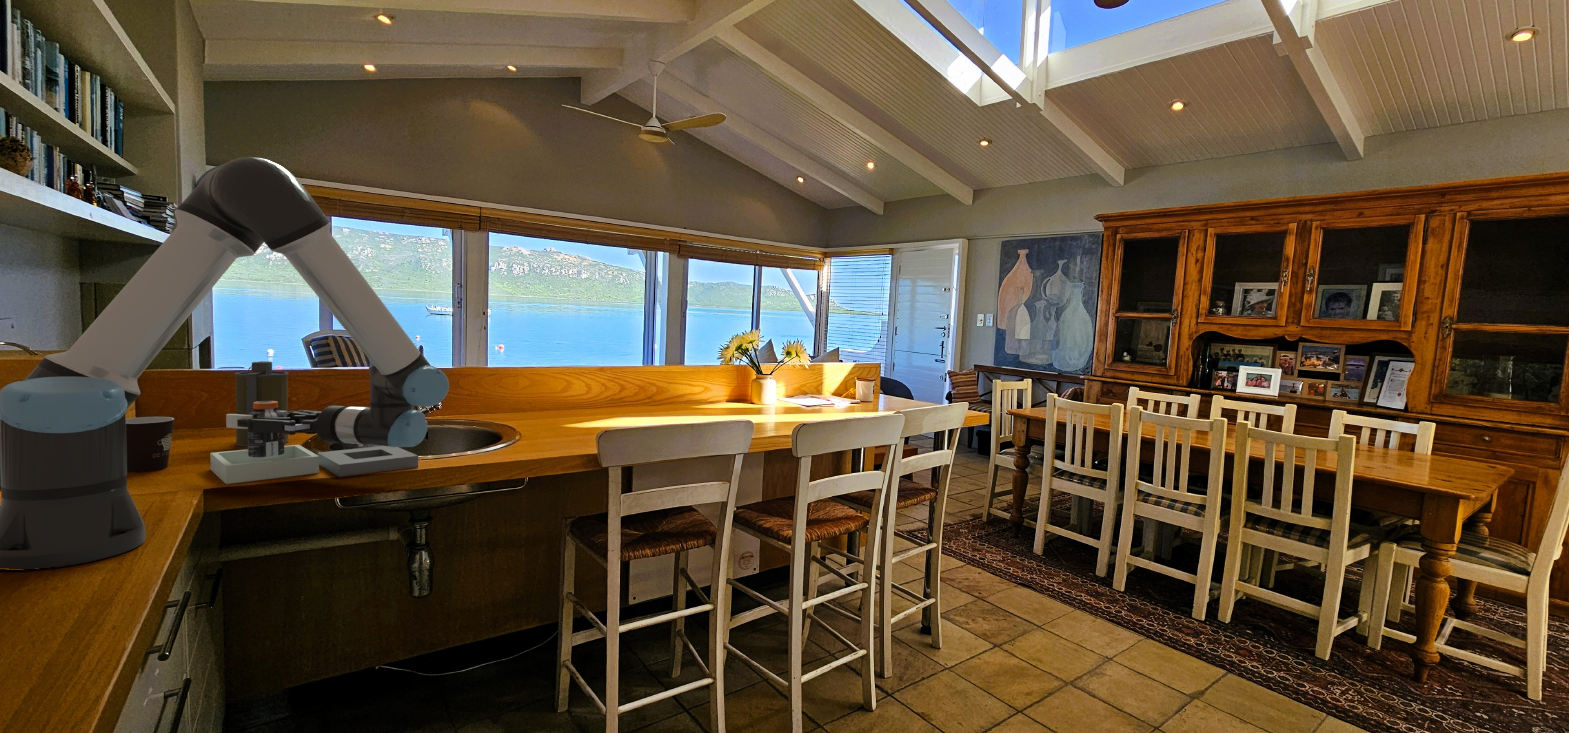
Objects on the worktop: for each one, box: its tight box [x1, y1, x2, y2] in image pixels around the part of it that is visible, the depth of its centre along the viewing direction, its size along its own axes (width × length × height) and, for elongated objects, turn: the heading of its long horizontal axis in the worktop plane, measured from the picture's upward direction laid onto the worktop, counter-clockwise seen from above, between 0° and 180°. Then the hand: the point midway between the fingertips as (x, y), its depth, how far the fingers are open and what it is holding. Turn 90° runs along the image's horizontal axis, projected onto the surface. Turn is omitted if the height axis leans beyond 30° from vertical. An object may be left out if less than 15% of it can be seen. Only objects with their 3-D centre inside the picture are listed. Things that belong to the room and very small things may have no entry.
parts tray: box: [209, 444, 320, 485], centre depth 136 cm, size 15×15×4 cm
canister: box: [234, 360, 290, 448], centre depth 162 cm, size 11×10×20 cm
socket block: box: [317, 445, 419, 478], centre depth 145 cm, size 15×15×2 cm
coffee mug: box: [126, 416, 175, 474], centre depth 135 cm, size 12×9×10 cm
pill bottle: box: [247, 401, 285, 458], centre depth 136 cm, size 6×6×11 cm
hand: (243, 418), depth 136 cm, fingers closed on pill bottle, 6 cm apart
